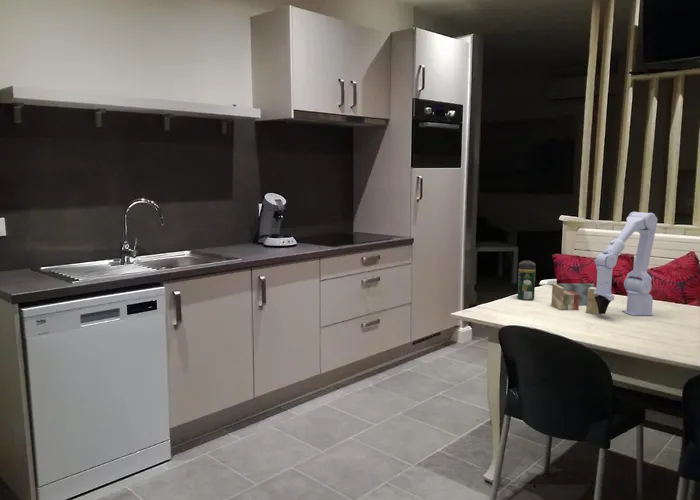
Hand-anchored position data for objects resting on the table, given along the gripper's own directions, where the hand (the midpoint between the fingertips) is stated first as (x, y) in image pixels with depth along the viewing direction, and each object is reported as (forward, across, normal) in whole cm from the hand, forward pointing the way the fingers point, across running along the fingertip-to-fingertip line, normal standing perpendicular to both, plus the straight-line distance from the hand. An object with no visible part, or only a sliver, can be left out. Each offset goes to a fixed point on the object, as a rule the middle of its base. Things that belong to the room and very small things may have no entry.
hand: (602, 313), depth 232 cm
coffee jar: (+2, -36, -20) cm, 42 cm away
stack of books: (+1, -18, -3) cm, 18 cm away
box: (+2, -8, 0) cm, 8 cm away
